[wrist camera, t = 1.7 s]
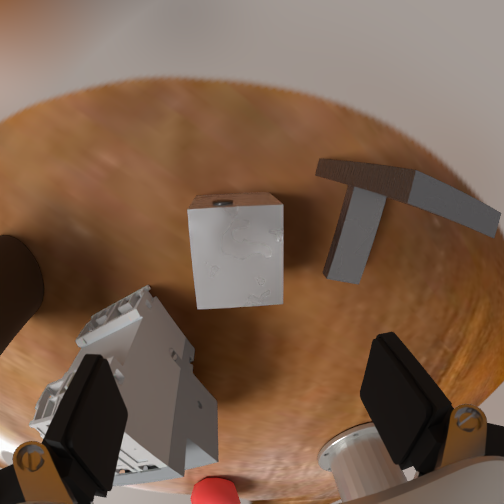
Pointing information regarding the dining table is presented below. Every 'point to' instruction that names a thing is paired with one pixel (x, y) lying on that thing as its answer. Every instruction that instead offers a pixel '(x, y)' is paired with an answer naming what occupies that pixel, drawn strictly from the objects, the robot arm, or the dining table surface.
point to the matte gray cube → (237, 249)
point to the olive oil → (17, 288)
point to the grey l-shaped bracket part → (372, 203)
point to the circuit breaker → (146, 390)
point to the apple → (214, 492)
